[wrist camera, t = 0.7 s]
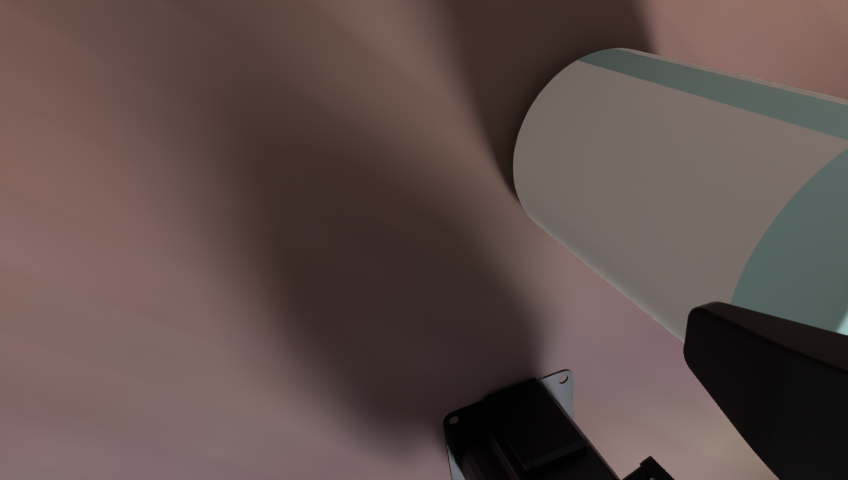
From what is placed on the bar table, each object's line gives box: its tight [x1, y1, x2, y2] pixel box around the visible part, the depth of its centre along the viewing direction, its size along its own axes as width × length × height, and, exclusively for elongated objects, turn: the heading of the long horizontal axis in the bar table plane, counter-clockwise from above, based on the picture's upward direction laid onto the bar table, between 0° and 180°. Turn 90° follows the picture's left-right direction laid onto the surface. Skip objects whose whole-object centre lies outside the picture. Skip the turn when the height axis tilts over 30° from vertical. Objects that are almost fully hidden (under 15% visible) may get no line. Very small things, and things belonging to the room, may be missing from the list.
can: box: [513, 48, 848, 343], centre depth 16 cm, size 7×7×12 cm
